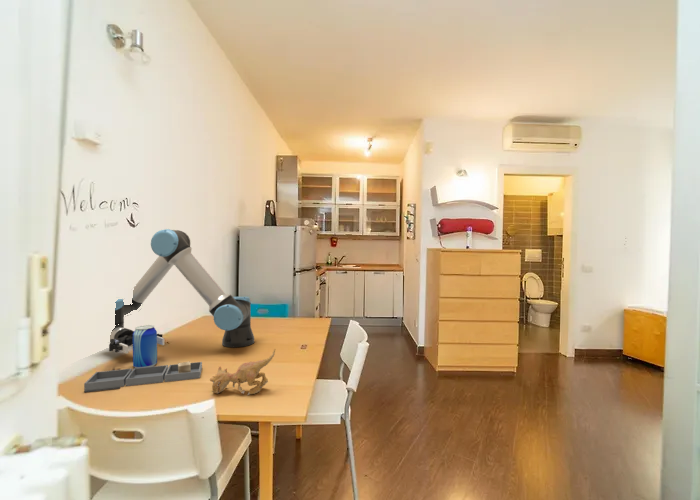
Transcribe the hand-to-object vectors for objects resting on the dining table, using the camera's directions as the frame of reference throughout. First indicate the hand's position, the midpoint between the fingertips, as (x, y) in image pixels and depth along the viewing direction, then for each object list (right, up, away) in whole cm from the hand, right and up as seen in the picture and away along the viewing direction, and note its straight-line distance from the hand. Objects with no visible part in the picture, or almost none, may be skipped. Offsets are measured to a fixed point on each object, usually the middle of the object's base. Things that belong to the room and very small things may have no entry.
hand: (146, 345), depth 145 cm
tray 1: (-4, -9, -16) cm, 19 cm away
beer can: (-1, -9, +1) cm, 9 cm away
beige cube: (+19, -8, -9) cm, 23 cm away
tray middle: (+8, -9, -13) cm, 17 cm away
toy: (+45, -10, -23) cm, 52 cm away
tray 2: (+19, -9, -9) cm, 23 cm away
